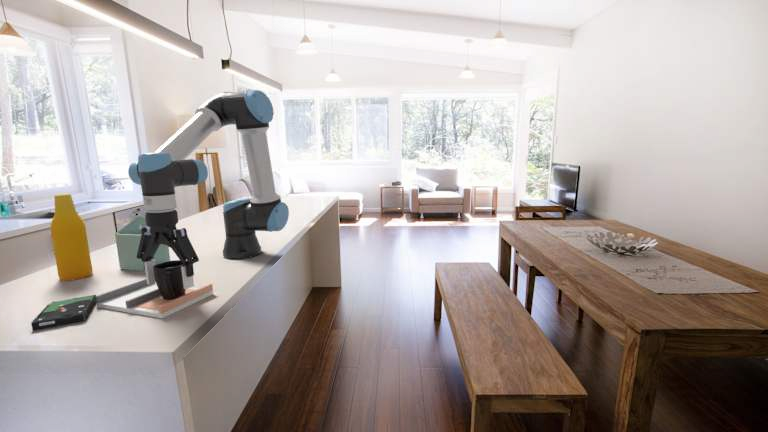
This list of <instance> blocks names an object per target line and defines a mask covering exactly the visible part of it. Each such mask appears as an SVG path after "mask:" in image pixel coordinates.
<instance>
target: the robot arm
mask: <svg viewBox="0 0 768 432" xmlns="http://www.w3.org/2000/svg"><path fill="white" fill-rule="evenodd" d="M274 112H275V111H274V106H273V104H272V102H271V100H270V98H269V96H267V94H266V93H265V92H264V91H261V90H260V89H259V90H257V89H246V90H237V91H236V90H233V91H224V92H220V93H218V94H217V95H215V96H213V97H210V98H209V99H208V100H206V101H204V103H203V104H201V105H200V106H199V107H198V108H197V109H196V110H195V114H194V116H193V117H192V118H190V119H189V120H188V121H187V122H186V123H185V124H184V125H183V126H182V127H181V128H180V129H178V130H177V131H176V132H175V133H174V134H173V135H172V136H170V137H169V138H168V139H167V140H165V142H164V143H163V144H161V146H160V147H158V148H157V149H156V150H155V151H154V152H144V153H143V152H142V153H140V154H138V156H137V160H135V161H133V162H131V163H130V165H129V167H128V177H129V178H130V180H131V181H132V183H134V184H136V185H138V186H139V185H140V187H141V193H142V194H141V195H142V201H143V207H144V211H146V212H145V214H144V218H145V219H146V225H147V226H148V227H141V228H140V229H141V240H140V244H139V248H138V252H137V259H141V260H142V261H143V262H144V269H145V271H144V272H145V279H147V284H152V283H156V281H155V278H154V270H153V266H154V265H156V263H155V260H151V259H154V257H153V256H154V255H155V253H156V251H157V249H158V247H159V245H160V244H163V245H167V246H168V247H169V248H170V249H171V250H172V251H173V253H175V255H176V257H177V258H178V260H180V261H181V262H182V263H183V265H182V266H181V270H182V278H183V287H184V289H188V288H194V287H195V282H194V276H195V272H194V271H195V270H194V264H196V263H198V262H199V261H200V258H199V256H198V255H197V253H196V251H195V249H194V246H193V245H192V242H191V240H190V238H189V236H188V233H187V231H188V230H187V229H186V228H185V227H183V228H179V229H177V226H176V225H177V224H178V223H179V217H178V215H179V214H178V211H177V210H176V209H177V206H178V205H177V204H178V203H177V199H176V190H175V188H176V187H177V188H178V187H183V186H184V187H185V186H197V185H200V184H201V185H202V184H203V183H205V182H206V181H207V179H208V177H209V171H208V167H207V165H206V164H205V162H203V161H202V160H200V159H193V158H190V159H187V158H188V157H189V156H190V155H192V153H193V152H194V151H195V150H196V149H198V147H199V146H200V145H201V144H202V143H203V142H204V141H205V140H206V139H207V138H208V137H209V136H210V135H212V133H213V132H217V131H220V130H221V128H223V127H225V126H229V125H235V127H236V131H237V132H239V133H240V134H241V137H242V142H243V147H244V152H245V159H246V163H247V169H248V173H249V174H248V175H249V180H250V186H251V190H252V191H251V193H252V197H250V198H249V197H248V198H243V199H236V200H235V199H234V200H231V201H230V200H229V201H227V202H224V203H223V207H222V208H223V209H222V210H223V212H222V214H223V221H224V231H225V240H224V245H223V249H222V257H223V256H224V257H225V259H228V258H241V259H246V258H245V257H248V258H251V257H250V256H253V257H255V256H254V255H256V256H258V255H257V254H259V253H260V254H262V246H261V245H260V242H259V239H258V237H257V235H256V231H257V232H269V233H270V232H280V231H282V230H283V229H284V228H285V227H286V226H287V223H288V220H289V216H290V212H289V206H288V205H287V203H285V202H282V199H281V198H282V197H281V195H279V194H278V193H277V191H276V187H275V181H274V174H273V168H272V162H271V156H270V151H269V150H270V149H269V143H268V137H267V131H268V130H269V128H270V123H271V122H272V121H273V119H274V117H273V116H274V115H275V114H274ZM142 253H143V254H142ZM260 254H259V255H260ZM224 257H223V258H224Z"/></svg>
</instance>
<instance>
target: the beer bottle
mask: <svg viewBox="0 0 768 432" xmlns="http://www.w3.org/2000/svg"><path fill="white" fill-rule="evenodd" d="M87 234H88V233H87V228H86V224H85V222H84V220H83V218H82V217H81V216H80V215H79V213H78V211H77V209H76V207H75V204H74V200H73V197H72V194H70V193H67V194H64V193H62V194H55V195H54V215H53V218H52V220H51V222H50V235H51V241H52V246H53V251H54V257H55V262H56V268H57V276H58V279H60V281H66V282H67V281H75V280H81V279H84V278H87V276H88V277H90V276H91V275H93V265H92V260H91V253H90V247H89V242H88V235H87Z"/></svg>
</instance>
